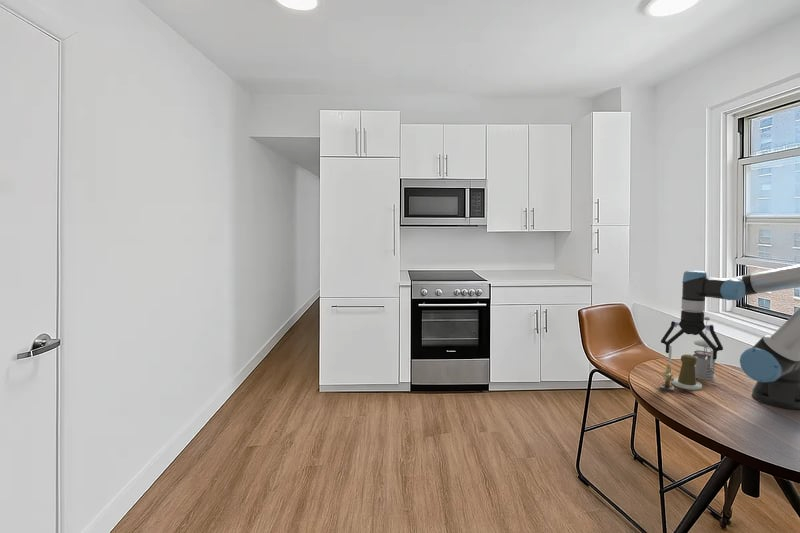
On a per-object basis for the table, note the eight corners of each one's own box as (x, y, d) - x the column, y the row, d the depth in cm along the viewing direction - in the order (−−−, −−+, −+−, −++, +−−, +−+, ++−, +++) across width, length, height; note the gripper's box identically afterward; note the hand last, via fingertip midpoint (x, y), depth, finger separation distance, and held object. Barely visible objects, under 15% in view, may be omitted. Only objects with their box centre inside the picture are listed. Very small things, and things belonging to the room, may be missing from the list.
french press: (685, 375, 188) (689, 316, 185) (693, 368, 196) (698, 312, 193) (712, 381, 181) (718, 321, 178) (720, 374, 189) (725, 316, 186)
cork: (698, 385, 173) (701, 358, 172) (681, 384, 174) (683, 357, 173) (692, 380, 179) (694, 353, 178) (675, 379, 180) (677, 352, 179)
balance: (674, 385, 176) (676, 358, 175) (672, 395, 167) (674, 366, 165) (661, 383, 179) (663, 356, 177) (658, 392, 169) (660, 364, 168)
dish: (702, 384, 178) (702, 381, 178) (701, 392, 170) (701, 389, 170) (672, 378, 183) (673, 376, 183) (670, 386, 175) (671, 383, 175)
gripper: (732, 312, 169) (729, 367, 171) (656, 306, 183) (654, 356, 185) (733, 315, 163) (729, 372, 165) (654, 308, 177) (652, 361, 179)
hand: (689, 364), depth 175 cm, fingers open, 13 cm apart
